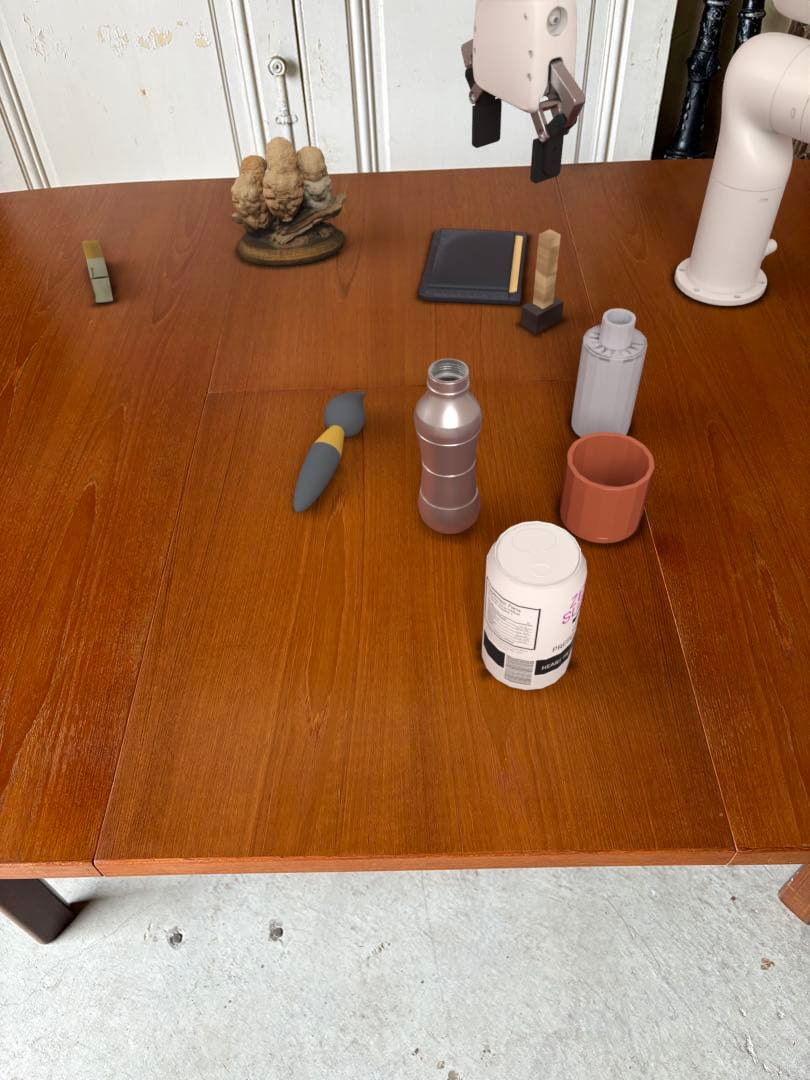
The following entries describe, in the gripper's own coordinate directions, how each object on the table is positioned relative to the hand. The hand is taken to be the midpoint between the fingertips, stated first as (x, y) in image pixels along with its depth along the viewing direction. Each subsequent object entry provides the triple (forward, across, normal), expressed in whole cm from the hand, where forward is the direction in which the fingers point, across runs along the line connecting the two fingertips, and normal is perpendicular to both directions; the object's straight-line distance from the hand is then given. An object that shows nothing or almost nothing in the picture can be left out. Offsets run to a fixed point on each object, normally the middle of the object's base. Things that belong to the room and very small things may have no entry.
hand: (514, 160), depth 81 cm
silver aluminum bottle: (+29, -14, +18) cm, 37 cm away
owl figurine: (+29, +49, +5) cm, 57 cm away
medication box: (+29, +56, +34) cm, 72 cm away
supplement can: (+29, -33, +21) cm, 49 cm away
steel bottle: (+29, -11, -6) cm, 32 cm away
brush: (+29, +10, -14) cm, 34 cm away
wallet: (+30, +27, -15) cm, 43 cm away
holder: (+29, -23, +3) cm, 37 cm away
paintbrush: (+29, +1, +23) cm, 38 cm away
